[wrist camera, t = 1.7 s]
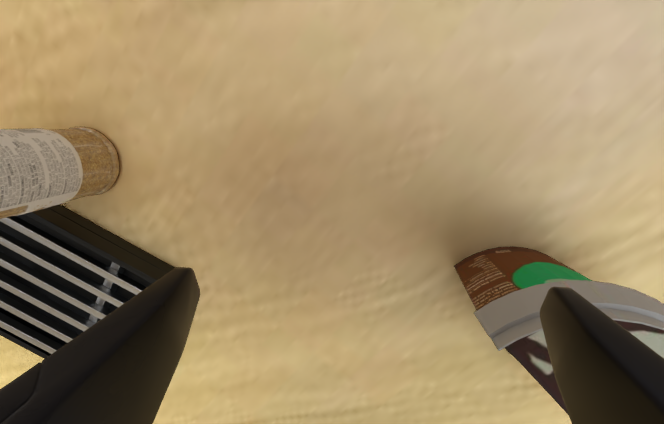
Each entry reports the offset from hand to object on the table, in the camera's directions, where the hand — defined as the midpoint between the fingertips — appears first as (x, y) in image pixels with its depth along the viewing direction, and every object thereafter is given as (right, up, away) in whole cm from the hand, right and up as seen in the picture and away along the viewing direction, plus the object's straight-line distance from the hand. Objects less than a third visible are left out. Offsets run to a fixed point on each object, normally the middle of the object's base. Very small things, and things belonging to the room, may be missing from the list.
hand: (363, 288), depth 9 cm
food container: (+13, -3, +14) cm, 19 cm away
